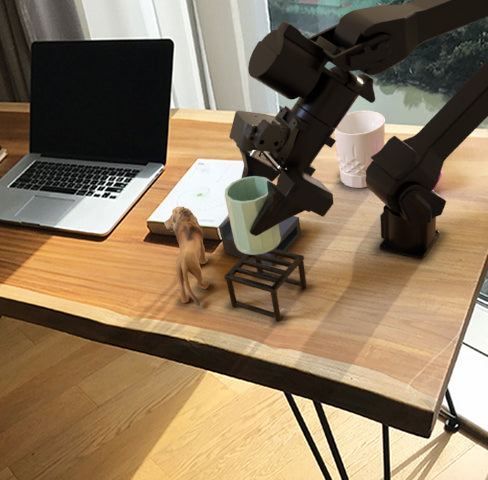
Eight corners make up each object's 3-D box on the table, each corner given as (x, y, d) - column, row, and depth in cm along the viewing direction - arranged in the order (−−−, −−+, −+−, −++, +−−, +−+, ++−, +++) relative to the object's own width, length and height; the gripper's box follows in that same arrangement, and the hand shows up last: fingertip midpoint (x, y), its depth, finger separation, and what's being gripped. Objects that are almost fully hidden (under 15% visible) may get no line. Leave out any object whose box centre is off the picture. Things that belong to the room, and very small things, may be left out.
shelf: (301, 233, 104) (297, 205, 101) (272, 265, 99) (267, 238, 96) (254, 222, 109) (249, 196, 106) (224, 253, 104) (218, 226, 101)
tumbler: (280, 224, 91) (272, 173, 86) (281, 251, 86) (273, 198, 81) (236, 230, 92) (225, 180, 87) (234, 257, 88) (223, 205, 83)
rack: (307, 286, 94) (304, 255, 91) (279, 322, 90) (273, 290, 86) (260, 273, 98) (254, 243, 95) (230, 306, 94) (223, 276, 91)
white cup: (387, 188, 108) (385, 131, 102) (336, 192, 110) (332, 136, 104) (385, 163, 114) (384, 107, 108) (337, 167, 116) (333, 113, 110)
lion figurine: (173, 254, 107) (159, 205, 101) (206, 246, 106) (194, 197, 101) (182, 313, 95) (168, 262, 90) (219, 304, 95) (207, 253, 89)
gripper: (237, 60, 84) (173, 166, 90) (296, 114, 70) (215, 236, 76) (303, 100, 90) (238, 197, 96) (370, 158, 75) (289, 268, 81)
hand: (243, 221), depth 87 cm, fingers closed on tumbler, 6 cm apart
